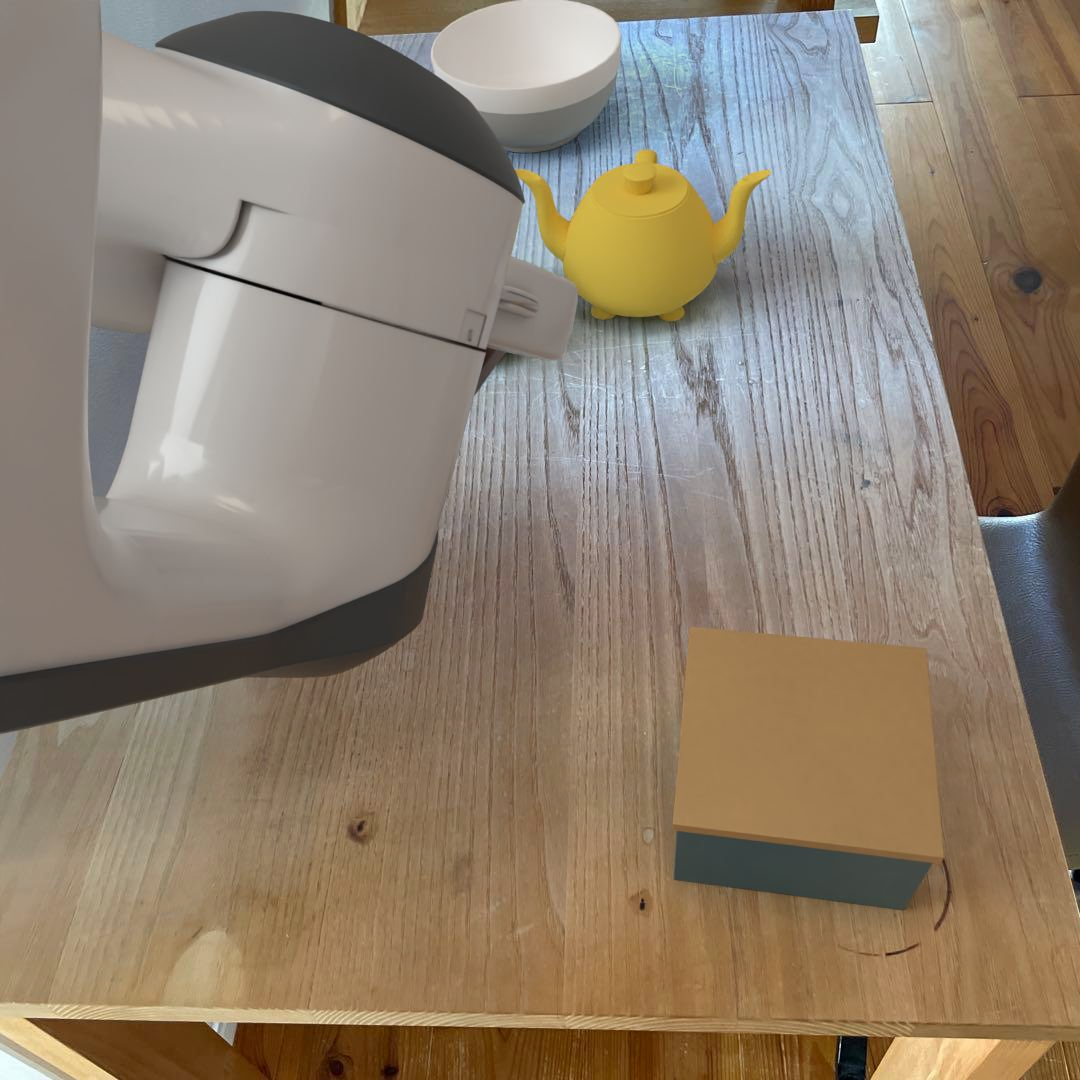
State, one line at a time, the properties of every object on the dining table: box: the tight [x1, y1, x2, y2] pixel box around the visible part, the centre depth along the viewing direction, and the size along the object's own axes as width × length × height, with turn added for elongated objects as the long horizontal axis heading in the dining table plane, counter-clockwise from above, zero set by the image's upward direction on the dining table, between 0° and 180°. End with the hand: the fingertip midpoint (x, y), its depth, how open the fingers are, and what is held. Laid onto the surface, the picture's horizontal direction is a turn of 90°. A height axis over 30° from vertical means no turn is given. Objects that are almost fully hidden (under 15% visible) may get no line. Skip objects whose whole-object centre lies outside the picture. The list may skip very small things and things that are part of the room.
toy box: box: [671, 626, 945, 911], centre depth 53 cm, size 11×12×8 cm
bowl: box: [430, 0, 623, 154], centre depth 101 cm, size 19×19×9 cm
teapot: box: [514, 148, 772, 322], centre depth 82 cm, size 20×15×12 cm
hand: (435, 303), depth 53 cm, fingers closed
